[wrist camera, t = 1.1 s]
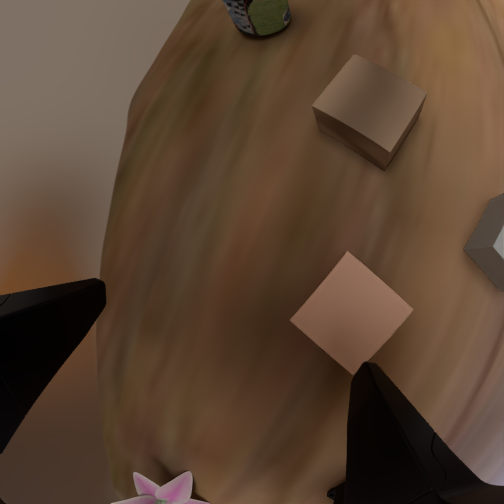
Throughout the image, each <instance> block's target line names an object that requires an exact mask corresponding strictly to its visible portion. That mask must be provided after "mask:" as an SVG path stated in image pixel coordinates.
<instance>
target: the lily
mask: <svg viewBox="0 0 504 504" xmlns="http://www.w3.org/2000/svg"><path fill="white" fill-rule="evenodd" d="M133 476H134V482H135V486H136V490H137V492H138V495H139V496H138V497H134V498H131V499H127V500H123V501H119V502H115V503H111V504H210V503H207V502H203V501H199V500H194V499H190V496H191V492H192V482H193V477H192V474H191V472H190V471H187V472H185V473H183V474H181V475H180V476H178V477H176V478H175V479H173V480H172V481H170V482H168V483H167V484H165V485H163V486H162V487H159V486H158V485H157V484H155V483H154V482H152V481H150V480H149V479H147V478H146V477H144V476H142V475H141V474H139V473H137V472H134V474H133Z"/></svg>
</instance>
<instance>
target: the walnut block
mask: <svg viewBox="0 0 504 504" xmlns="http://www.w3.org/2000/svg"><path fill="white" fill-rule="evenodd" d="M426 95H427V92H425V91H423V90H422V89H420V88H419V87H417V86H415V85H414V84H412V83H410V82H409V81H407V80H405V79H403V78H402V77H400V76H398V75H396V74H394V73H392V72H391V71H389V70H387V69H385V68H383V67H381V66H379V65H377V64H375V63H373V62H370V61H368V60H366V59H364V58H362V57H360V56H357V55H355V54H354V55H353V56H352V57H351V59H350V60H349V61H348V62H347V63H346V65H345V66H344V67H343V68H342V69H341V70H340V72H339V73H338V74H337V75H336V77H335V78H334V79H333V80H332V81H331V83H330V84H329V85H328V86H327V87H326V89H325V90H324V91H323V92H322V94H321V95H320V96H319V97H318V99H317V100H316V101H315V102H314V104H313V105H312V108H313V111H314V114H315V117H316V120H317V123H318V126H319V130H320V131H322V132H324V133H326V134H327V135H329V136H331V137H332V138H334V139H336V140H337V141H339V142H341V143H342V144H344V145H345V146H347V147H349V148H350V149H352V150H353V151H355V152H356V153H358V154H360V155H361V156H363V157H364V158H366V159H367V160H368V161H370V162H371V163H373V164H374V165H376V166H377V167H379V168H380V169H381V170H383V171H385V170H386V168H387V167H388V165H389V164H390V162H391V161H392V159H393V158H394V156H395V154H396V153H397V151H398V150H399V148H400V147H401V145H402V144H403V142H404V140H405V139H406V137H407V136H408V134H409V132H410V131H411V129H412V128H413V126H414V124H415V123H416V121H417V119H418V118H419V115H420V112H421V109H422V107H423V104H424V101H425V98H426Z"/></svg>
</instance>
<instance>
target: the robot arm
mask: <svg viewBox="0 0 504 504" xmlns="http://www.w3.org/2000/svg"><path fill="white" fill-rule="evenodd" d="M105 306H106V287H105V283H104V282H103V281H101V280H99V279H97V278H91V279H87V280H81V281H75V282H70V283H65V284H59V285H53V286H48V287H43V288H37V289H32V290H26V291H21V292H16V293H12V294H5V295H0V454H2V453H3V451H4V449H5V448H6V446H7V444H8V443H9V441H10V440H11V437H12V436H13V435H14V433H15V432H16V430H17V428H18V427H19V425H20V424H21V422H22V421H23V419H24V418H25V415H27V413H28V412H29V410H30V409H31V407H32V406H33V404H34V403H35V401H36V400H37V399H38V397H39V396H40V394H41V393H42V392H43V390H44V389H45V388H46V386H47V385H48V383H49V382H50V381H51V379H52V378H53V377H54V375H55V374H56V373H57V371H58V370H59V369H60V368H61V366H62V365H63V364H64V362H65V361H66V360H67V359H68V357H69V356H70V355H71V354H72V352H73V351H74V350H75V349H76V347H77V346H78V345H79V344H80V342H81V341H82V340H83V338H84V337H85V336H86V334H87V333H88V331H89V330H90V328H91V327H92V325H93V324H94V322H95V321H96V319H97V318H98V317H99V315H100V314H101V312H102V311H103V309H104V308H105ZM327 497H329V498H331V499H332V500H334V503H333V504H504V486H497V485H491V484H488V483H485V482H483V481H482V480H480V479H479V478H478V477H477V476H476V475H475V474H474V473H473V472H472V471H471V470H470V469H469V468H468V467H467V466H466V465H465V464H464V463H463V462H462V461H461V460H460V459H459V458H458V457H457V456H456V455H455V454H454V453H453V452H452V451H451V450H450V449H449V447H448V446H447V445H446V444H445V443H444V442H443V440H442V439H441V438H440V437H439V436H438V435H437V433H436V432H434V430H433V429H432V427H431V426H430V425H429V424H428V423H427V422H426V420H425V419H424V418H423V417H422V416H421V414H420V413H419V412H418V411H417V410H416V409H415V407H414V406H413V405H412V404H411V403H410V402H409V400H408V399H407V398H406V397H405V396H404V395H403V394H402V392H401V391H400V390H399V389H398V388H397V387H396V385H395V384H394V383H393V382H392V381H391V380H390V379H389V377H388V376H387V375H386V374H385V373H384V372H383V371H382V369H381V368H380V367H379V366H378V365H377V364H376V363H374V362H368V361H365V362H363V363H362V364H361V366H360V368H359V369H358V371H357V372H356V374H355V376H354V377H353V379H352V382H351V390H350V401H349V411H348V420H347V461H346V482H344V483H342V484H341V485H339V486H337V487H335V488H333V489H331V490H329V491H328V492H327ZM0 504H6V503H5V502H4V501H3V500H2V499H1V498H0Z"/></svg>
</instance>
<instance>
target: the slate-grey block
mask: <svg viewBox="0 0 504 504" xmlns="http://www.w3.org/2000/svg"><path fill="white" fill-rule="evenodd" d="M463 250H464V251H465V252H466V253H467V254H468V255H469V256H470V257H471V258H472V259H473V261H474V262H475V263H476V264H477V265H478V266H479V267H480V268H481V269H482V270H483V272H484V273H485V274H486V275H487V276H488V277H489V278H490V280H491V281H492V282H493V283H494V284H495V286H496V287H497V288H498V289H499V291H503V292H504V193H503V194H501V195H499V196H497V197H495V198H493V199H491V200H490V202H489V204H488V206H487V208H486V210H485V212H484V214H483V216H482V218H481V220H480V222H479V223H478V225H477V227H476V229H475V231H474V232H473V234H472V236H471V238H470V239H469V241H468V243H467V245H466V246H465V248H464V249H463Z"/></svg>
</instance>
